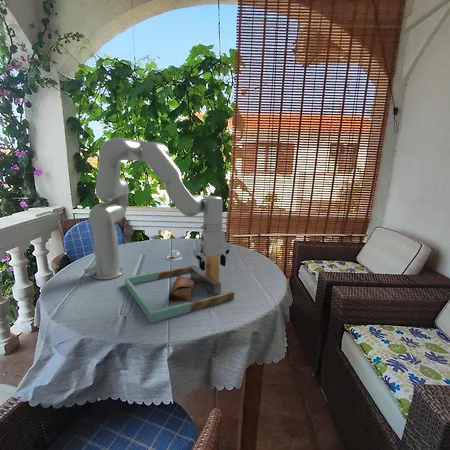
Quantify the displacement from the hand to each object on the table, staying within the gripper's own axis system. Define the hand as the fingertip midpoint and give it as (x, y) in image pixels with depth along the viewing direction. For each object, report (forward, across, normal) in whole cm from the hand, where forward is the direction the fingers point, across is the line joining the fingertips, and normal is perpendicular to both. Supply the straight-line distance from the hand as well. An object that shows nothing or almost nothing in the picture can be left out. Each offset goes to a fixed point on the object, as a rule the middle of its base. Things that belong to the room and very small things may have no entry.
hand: (212, 267), depth 118 cm
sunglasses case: (+7, -14, 0) cm, 15 cm away
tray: (+7, -25, 0) cm, 26 cm away
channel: (+7, -9, 0) cm, 11 cm away
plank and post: (+7, -2, 0) cm, 7 cm away
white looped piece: (+7, +2, +37) cm, 38 cm away
